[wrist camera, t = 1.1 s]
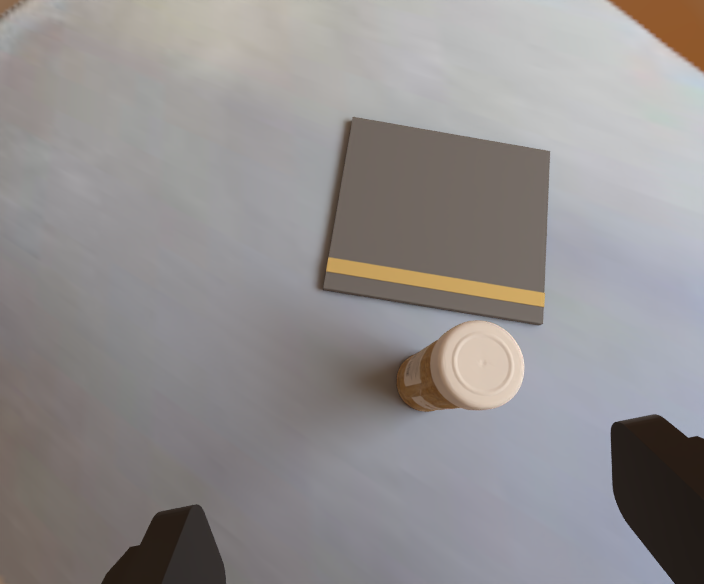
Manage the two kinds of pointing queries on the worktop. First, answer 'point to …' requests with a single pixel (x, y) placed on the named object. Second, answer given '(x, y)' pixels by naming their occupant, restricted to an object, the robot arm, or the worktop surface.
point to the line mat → (441, 222)
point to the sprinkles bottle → (463, 370)
